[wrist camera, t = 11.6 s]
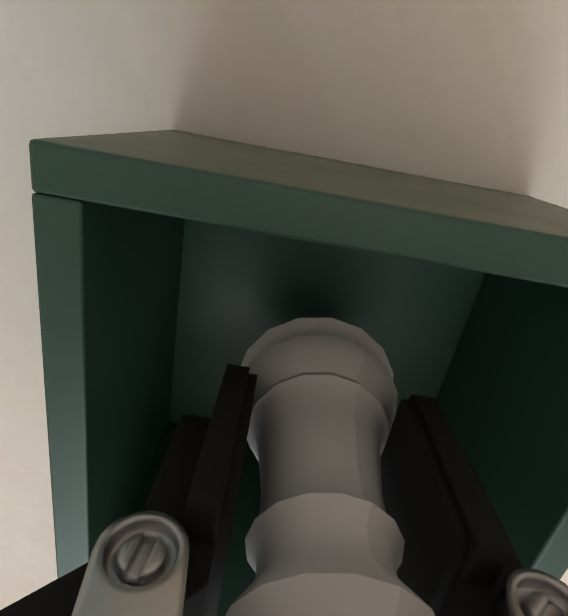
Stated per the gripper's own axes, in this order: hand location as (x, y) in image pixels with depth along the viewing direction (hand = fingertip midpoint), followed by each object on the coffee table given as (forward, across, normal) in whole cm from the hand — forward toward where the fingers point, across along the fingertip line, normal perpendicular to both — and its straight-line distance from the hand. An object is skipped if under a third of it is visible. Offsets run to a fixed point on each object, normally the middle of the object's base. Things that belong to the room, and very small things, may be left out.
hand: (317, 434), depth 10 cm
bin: (+6, 0, 0) cm, 6 cm away
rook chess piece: (+3, 0, 0) cm, 3 cm away
